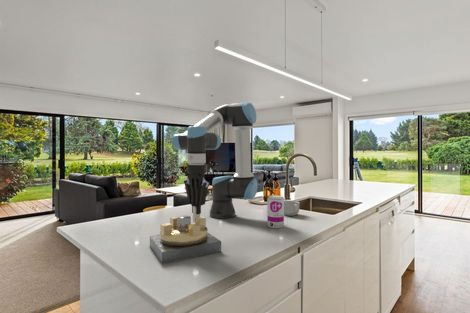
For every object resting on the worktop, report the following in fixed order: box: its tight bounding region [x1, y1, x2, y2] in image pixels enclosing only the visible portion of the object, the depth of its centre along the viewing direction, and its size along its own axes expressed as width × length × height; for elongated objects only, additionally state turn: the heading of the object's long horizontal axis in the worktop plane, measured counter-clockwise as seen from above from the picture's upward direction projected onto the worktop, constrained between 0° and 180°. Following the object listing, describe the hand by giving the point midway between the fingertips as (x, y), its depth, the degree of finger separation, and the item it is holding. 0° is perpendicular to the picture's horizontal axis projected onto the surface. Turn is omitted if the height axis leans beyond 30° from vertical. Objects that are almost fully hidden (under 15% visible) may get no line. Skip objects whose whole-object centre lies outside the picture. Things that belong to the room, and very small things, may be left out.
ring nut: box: [159, 215, 209, 246], centre depth 104 cm, size 18×18×8 cm
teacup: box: [284, 200, 300, 217], centre depth 158 cm, size 14×11×8 cm
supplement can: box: [266, 194, 285, 229], centre depth 135 cm, size 8×8×15 cm
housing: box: [149, 232, 222, 265], centre depth 104 cm, size 20×22×4 cm
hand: (196, 221), depth 111 cm, fingers closed
